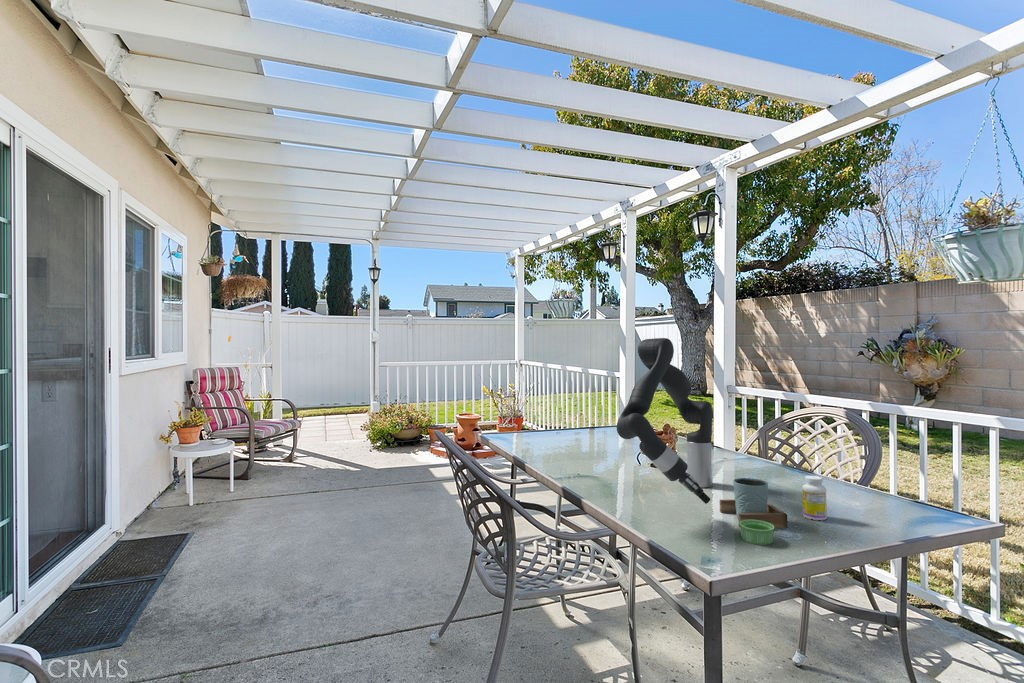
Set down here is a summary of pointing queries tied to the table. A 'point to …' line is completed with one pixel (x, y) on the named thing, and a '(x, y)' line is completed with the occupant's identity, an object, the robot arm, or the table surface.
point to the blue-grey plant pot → (750, 495)
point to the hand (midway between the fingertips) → (707, 501)
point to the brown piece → (757, 514)
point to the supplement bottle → (814, 498)
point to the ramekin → (757, 531)
